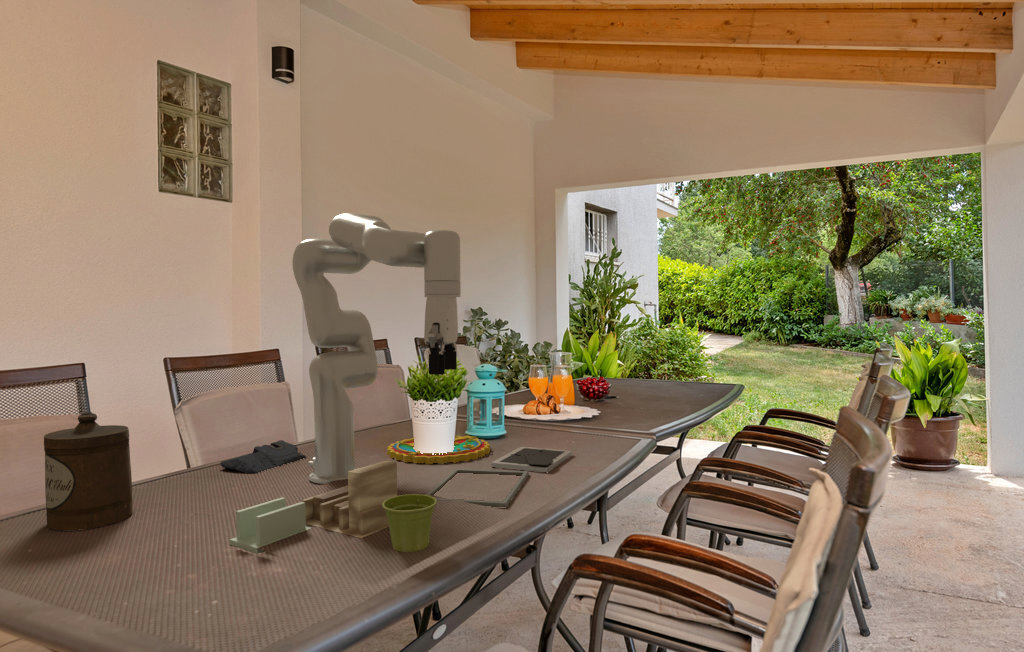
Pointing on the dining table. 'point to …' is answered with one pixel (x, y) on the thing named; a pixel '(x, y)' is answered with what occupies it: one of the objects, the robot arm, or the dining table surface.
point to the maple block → (370, 488)
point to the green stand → (268, 524)
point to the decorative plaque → (462, 452)
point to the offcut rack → (346, 517)
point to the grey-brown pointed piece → (532, 459)
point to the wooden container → (87, 475)
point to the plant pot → (409, 521)
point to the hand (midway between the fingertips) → (443, 371)
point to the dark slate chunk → (265, 458)
